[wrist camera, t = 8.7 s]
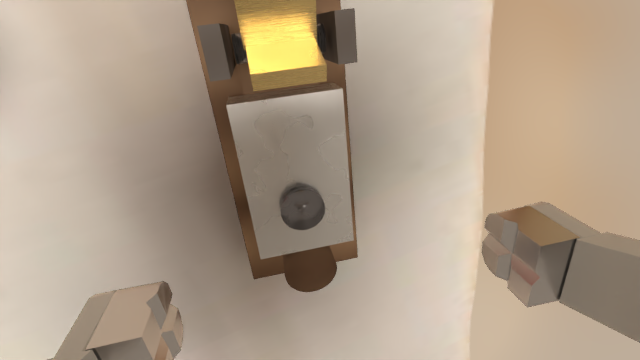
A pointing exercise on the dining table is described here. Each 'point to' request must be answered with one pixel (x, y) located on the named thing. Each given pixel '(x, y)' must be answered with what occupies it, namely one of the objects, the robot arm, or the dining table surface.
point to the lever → (280, 42)
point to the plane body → (234, 80)
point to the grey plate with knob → (294, 167)
